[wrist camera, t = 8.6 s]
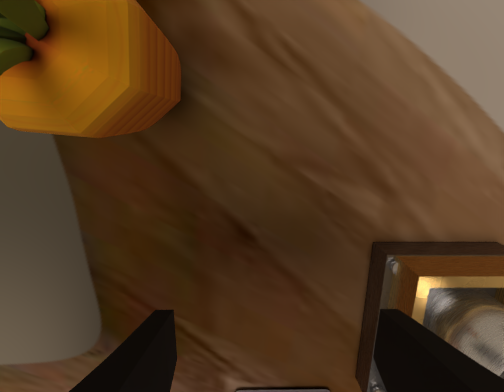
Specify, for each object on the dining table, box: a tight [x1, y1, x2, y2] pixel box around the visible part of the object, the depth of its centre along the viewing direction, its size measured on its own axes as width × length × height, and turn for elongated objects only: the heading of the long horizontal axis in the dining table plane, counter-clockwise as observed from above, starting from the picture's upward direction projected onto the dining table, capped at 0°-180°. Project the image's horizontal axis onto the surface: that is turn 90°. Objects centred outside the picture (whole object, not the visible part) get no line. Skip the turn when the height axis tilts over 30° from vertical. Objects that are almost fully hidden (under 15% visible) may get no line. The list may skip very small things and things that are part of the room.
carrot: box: [0, 0, 181, 138], centre depth 9 cm, size 5×5×15 cm
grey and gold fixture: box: [356, 242, 504, 392], centre depth 19 cm, size 12×9×4 cm
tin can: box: [422, 288, 504, 379], centre depth 15 cm, size 6×4×6 cm
